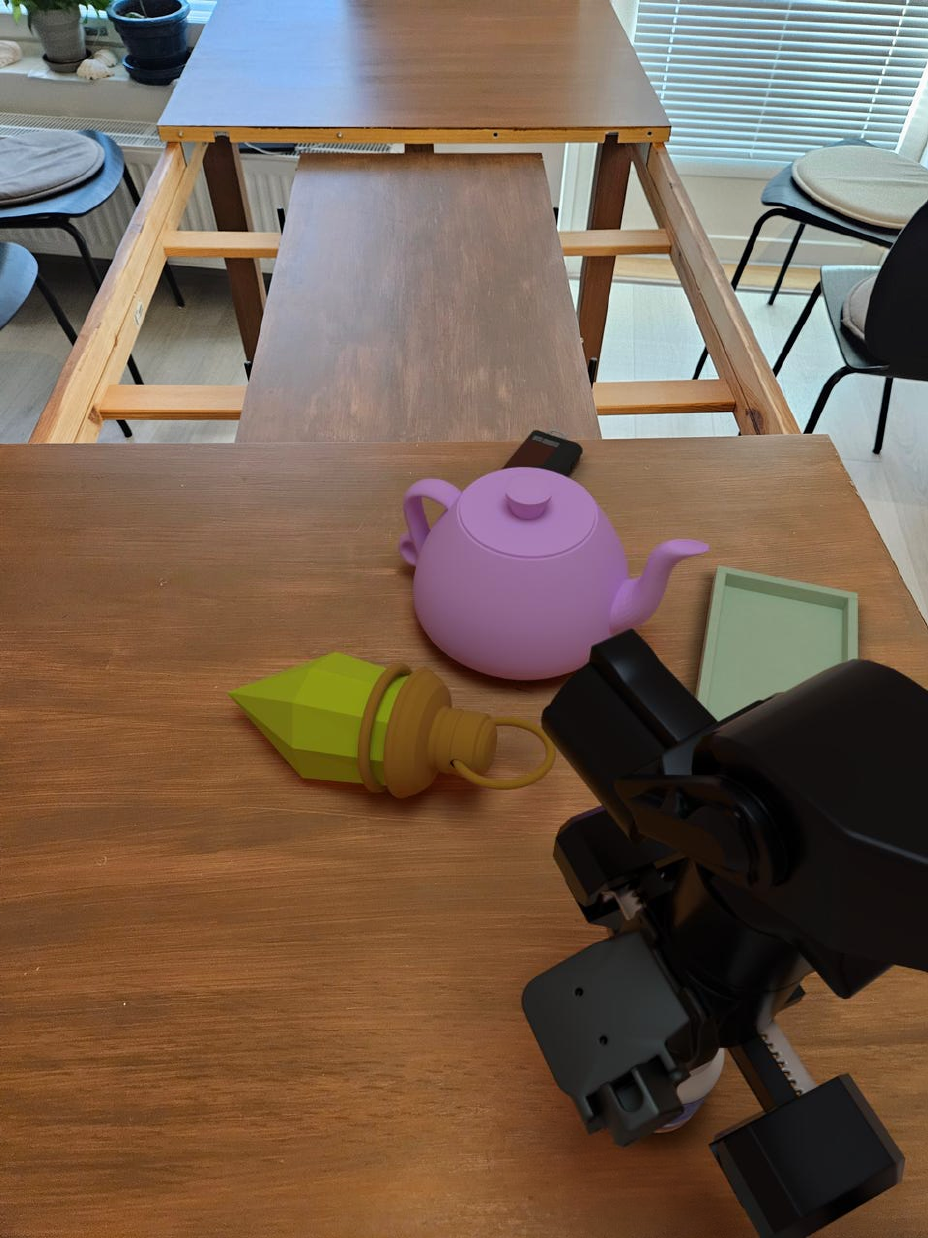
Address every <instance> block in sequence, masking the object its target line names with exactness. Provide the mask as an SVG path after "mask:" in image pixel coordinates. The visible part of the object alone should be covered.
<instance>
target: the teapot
mask: <svg viewBox="0 0 928 1238" xmlns="http://www.w3.org/2000/svg"><path fill="white" fill-rule="evenodd" d="M404 494H405V495H404V497H403V503H402V509H403V513H404V520H405V523H406V526H407V530H408V531H406V532H404V533H403V534H402V535H401V536H400V538H399V540H398V544H397V549H398V553H399V555H400V556H401V558H402V559H403V560H404V561H405V562H406V563H407V564H408V565H410V566H412V567H415V571H414V576H413V587H412V592H413V593H412V599H413V608H414V610H415V614H416V617H417V620H418V622H419V623H420V626H421V627H422V629H423V630H424V632H425V633H426V635H427V636H428V638H429V639H430V640H431V642H432V643H433V644H434V645H435V646H436V647H437V648H439V650H441V651H442V653H444V654H446V655H447V656H448V657H449V658H451V659H453V660H454V661H456V662H458V663H459V664H461V665H463V666H465V667H467V668H469V669H472V670H474V671H476V672H479V673H482V674H485V675H489V676H492V677H497V678H502V679H505V680H515V681H535V680H536V681H537V680H546V679H551V678H555V677H560V676H564V675H566V674H569V673H572V672H575V671H578V670H579V669H580V668H582V667H583V666H584V665H585V664H586V663H588V662H589V657H590V651H591V646H592V645H594V644H597V643H599V642H601V641H603V640H605V639H607V638H609V637H611V636H613V635H616V634H618V633H620V632H622V631H624V630H626V629H628V628H633V629H634V630H635V629H637V628H639V627H641V626H643V625H644V624H645V623H647V622H648V621H649V620H650V619H651V618H652V617H653V615H654V614H655V613H656V612H657V610H658V609H659V607H660V605H661V603H662V601H663V599H664V597H665V593H666V589H667V586H668V582H669V580H670V576H671V574H672V571H673V569H675V567H676V566H677V564H679V563H681V562H683V561H684V560H686V559H689V558H693V557H695V556H696V557H697V556H700V555H703V554H705V553H707V552H709V550H710V545H709V544H708V543H707V542H704V541H701V540H696V539H689V538H678V539H676V538H675V539H669V540H665V541H664V542H662V543H660V544H659V545H657V546H656V547H655V548H654V549H653V550H652V551H651V553H650V554H649V556H648V558H647V560H646V563H645V565H644V568H643V571H642V574H641V575H640V576H639V577H634V578H631V577H630V571H629V564H628V560H627V556H626V553H625V550H624V546H623V544H622V541H621V539H620V537H619V535H618V533H617V531H616V530H615V528H614V525H613V524H612V522H611V521H610V519H609V518H608V516H607V515H606V513H605V512H604V511H603V509H602V507H601V506H600V504H599V503H598V502H597V500H596V499H595V498H594V497H593V496H592V495H591V493H589V491H587V490H586V489H585V487H583V486H582V485H581V484H579V483H578V482H577V481H575V480H573V479H572V478H570V477H568V476H567V477H566V476H563V475H561V474H558V473H555V472H553V471H549V470H545V469H539V468H530V467H517V468H508V469H503V470H501V469H499V470H496V471H492V472H490V473H487V474H485V475H483V476H480V477H479V478H477V479H475V480H474V481H473V482H472V483H470V484H469V485H468V486H467V487H466V488H464V489H463V490H462V491H461V490H460V488H457V487H456V486H455V485H453V484H452V483H450V482H448V481H446V480H443V479H439V478H433V477H432V478H431V477H429V478H423V479H420V480H418V481H416V482H415V483H413V484H412V485H411V486H410V487H408V489H407V491H406V493H404ZM424 498H425V499H429V500H432V501H434V502H436V503H437V504H440V505H441V506H442V507H444V508H445V509H444V511H443V512H442V513H441V514H440V515H439V517H438V518H437V520H435V522H434V523H433V525H432V527H431V528H430V525H429V522H428V519H427V515H426V512H425V509H424V504H423V499H424Z"/></svg>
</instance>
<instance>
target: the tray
mask: <svg viewBox="0 0 928 1238" xmlns="http://www.w3.org/2000/svg"><path fill="white" fill-rule="evenodd" d="M705 623H706V624H705V631H704V636H703V643H702V648H701V649H702V650H701V655H700V662H699V667H698V668H699V669H698V676H697V683H696V689H695V695H694V696H695V697H696V699H697V700H698V701H699V702H700V703H701V704H702V705H703V706H704V707H705V708H706V709H707V710H708V711H709V712H710V713H711V714H712V715H713V716H714V717H715V718H716V719H717V720H718V721H720V720H722V719H724V718H726V717H728V716H729V715H731V714H733V713H735V712H737V711H739V710H740V709H742V708H744V707H746V706H748V705H750V704H752V703H753V702H755V701H757V700H764V699H766V698H767V697H769V696H771V695H773V694H775V693H779V692H785V691H787V690H789V689H791V688H792V687H794V686H796V685H798V684H800V683H802V682H803V681H805V680H807V679H809V678H811V677H812V676H814V675H816V674H818V673H820V672H822V671H824V670H826V669H828V668H830V667H833V666H835V665H837V664H839V663H846V662H847V661H849V660H851V659H859V593H858V592H853V591H849V590H845V589H844V590H843V589H839V588H834V587H830V586H824V585H820V584H813V583H809V582H804V581H798V580H794V579H789V578H784V577H780V576H774V575H771V574H765V573H759V572H755V571H749V570H745V569H739V568H735V567H730V566H726V565H725V566H724V565H720V564H717V566H716V570H715V572H714V576H713V580H712V585H711V592H710V597H709V603H708V611H707V616H706V622H705Z"/></svg>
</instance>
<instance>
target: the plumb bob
mask: <svg viewBox="0 0 928 1238" xmlns="http://www.w3.org/2000/svg"><path fill="white" fill-rule="evenodd" d="M226 694H227V695H228V696H229V698H231V699H232V701H233V702H235V703H236V705H237V707H239V708H240V710H241V711H242V712H243V713H244V714H245V715H246V716H247V717H248V719H249V720H250V721H251V722H252V723H253V724H254V726H256V728H257V729H258V730H259V731H260V732H261V733H262V734H263V735H264V737H265V738H266V739H267V740H268V741H269V742H270V743H271V745H272V746H273V747H274V748H275V749H276V750H277V752H278V753H279V754H280V755H281V756H282V757H283V758H284V759H285V760H286V761H287V762H288V764H289V765H290V766H291V767H292V769H294V770H295V772H296V773H297V774H298V775H299V776H300V777H301V779H311V780H319V781H320V780H321V781H333V782H342V783H354V784H363V785H364V787H365V788H366V789H367V790H368V791H370V792H372V793H382V792H384V791H386V790H387V789H388V792H389V793H390V794H391V795H392V796H394V797H395V798H398V799H405V798H408V797H409V796H414V795H417V794H419V793H420V792H422V791H424V790H425V789H426V788H428V787H429V786H430V785H431V784H433V782H434V781H435V779H436V777H437V776H438V773H440V772H441V773H443V774H448V775H449V774H452V775H454V776H457V777H462V778H463V779H465V780H466V781H468V782H470V783H471V784H473V785H476V786H479V787H481V788H484V789H490V790H495V791H496V790H498V791H508V790H517V789H522V788H525V787H529V786H531V785H534V784H535V783H537V782H538V781H540V780H542V779H543V778H544V777H545V776H546V775H547V774H548V773H549V772H550V771H551V770H552V768H553V766H554V763H555V761H556V758H557V757H556V756H557V750H556V749H557V748H556V746H555V745H554V744H553V743H552V741H551V740H550V739H549V737H548V736H547V735H546V734H545V732H544V731H543V729H542V726H539V725H537V724H536V723H534V722H531V721H530V720H526V719H524V718H520V717H514V716H493V717H492V716H491V715H490V714H488V713H483V712H479V711H478V712H477V711H473V710H468V709H467V710H464V709H462V708H457V707H453V701H452V700H453V699H452V695H451V692H450V690H449V688H448V687H447V685H446V684H445V682H444V681H443V679H442V678H441V677H440V676H439V675H437V674H436V673H435V672H434V671H433V670H432V669H431V668H428V667H419V668H416V669H415V670H414V671H413V670H412V669H411V667H410V666H408V665H407V664H405V663H402V662H397V663H392V664H391V665H390V666H388V667H383V666H381V665H377V664H374V663H371V662H370V661H369V662H368V661H366V660H363V659H359V658H356V657H353V656H351V655H347V654H344V653H342V652H338V651H334V652H330V653H328V654H325V655H322V656H321V657H318V658H315V659H312V660H309V661H307V662H304V663H301V664H299V665H296V666H294V667H290V668H288V669H285V670H282V671H280V672H277V673H275V674H272V675H269V676H266V677H264V678H260V679H258V680H256V681H254V682H251V683H247V684H244V685H242V686H240V687H237V688H234V689H232V690H229V691H226ZM503 726H504V727H514V728H518V729H519V728H520V729H523V730H525V731H528V732H530V733H532V734H533V735H535V736H536V737H537V738H539V740H540V741H541V742H542V743H543V745H544V748H545V752H546V753H545V758H544V761H543V763H542V764H541V765H540V766H539V767H538V768H537V769H536V770H534V771H533V772H532V773H529V774H527V775H524V776H521V777H518V778H512V779H493V778H487V777H484V776H483V775H484V774H485V773H486V772H488V771H489V769H490V768H491V766H492V765H493V761H494V759H495V755H496V750H497V746H498V728H497V727H503Z"/></svg>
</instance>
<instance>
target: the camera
mask: <svg viewBox="0 0 928 1238" xmlns="http://www.w3.org/2000/svg"><path fill="white" fill-rule="evenodd" d="M553 433H557V434H560V435H562V436H557V435H555V434H553ZM583 451H584V449H583V447H582V445H581V444H580V443H578V442H576V441H572V440H568V438H567V434H566V433H565V432H564V431H562V430H558V429H555V428H550V429H549V430H548V432H544V431H542V430H538V429H534V430H532V431H531V432H530V434H529V435H528V436H527V437H526V438H525V440H524V441H523V442H522V443H521V444H520V446H519V447H518V448H517V450H516V451H515V452H514V453H513V454H512V455H511V457H510V458H509V459H508V460H507V461H506V463H505V464H504V466H503V467H501V469H500V470H503V469H508V468H517V467H530V468H539V469H545V470H549V471H553V472H555V473H558V474H561V475H563V476H566V477H568V475H569V474H570V473H571V472H572V470H573V469H574V467H575V466H576V464H578V462H579V460H580V459H581V456H582V454H583Z"/></svg>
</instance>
